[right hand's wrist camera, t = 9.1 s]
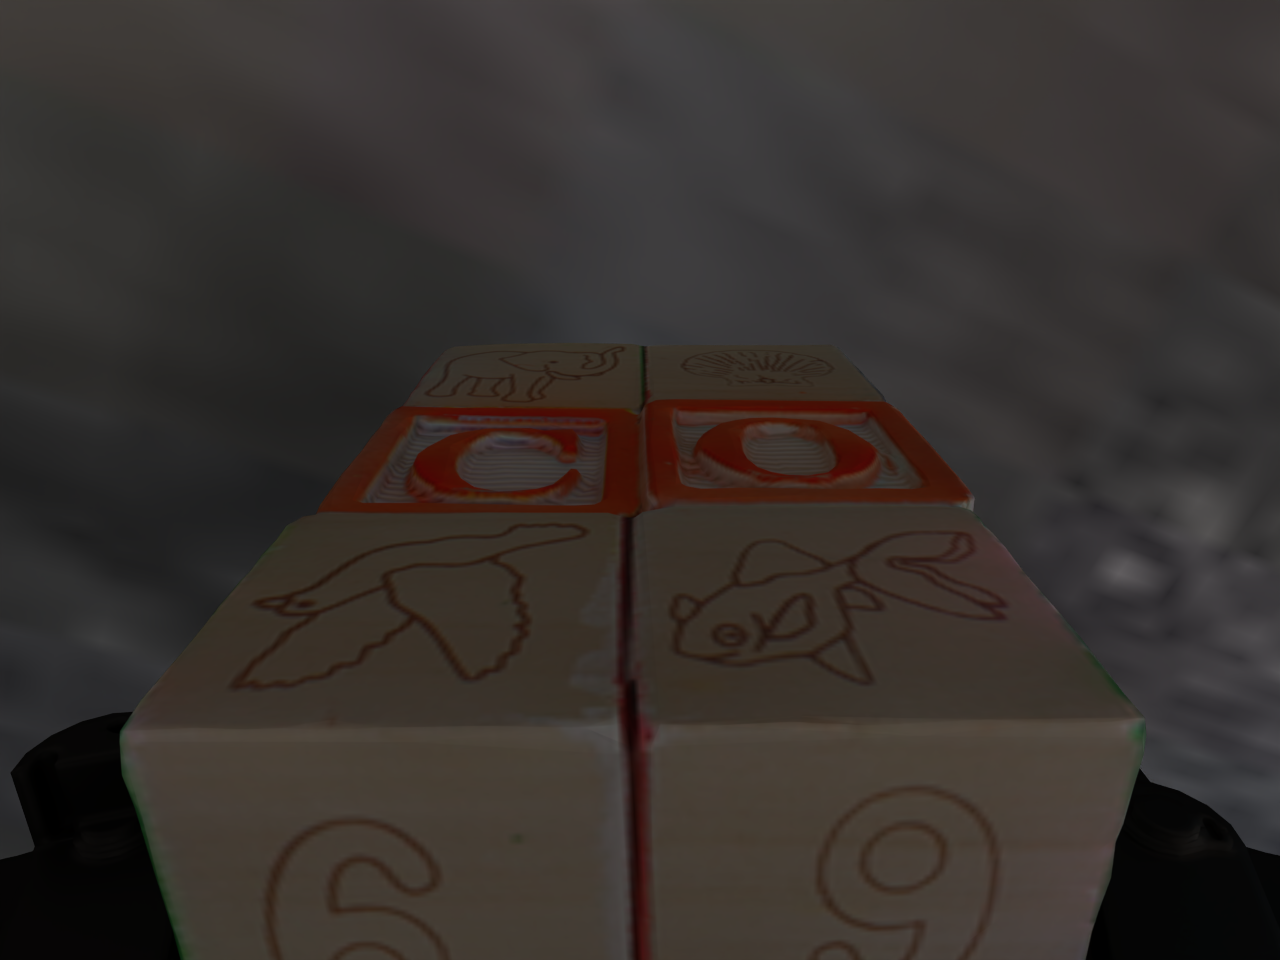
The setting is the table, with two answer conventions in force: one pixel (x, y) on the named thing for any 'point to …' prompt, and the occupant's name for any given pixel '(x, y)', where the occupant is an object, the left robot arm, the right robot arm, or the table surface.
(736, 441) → the stack of blocks
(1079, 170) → the table surface
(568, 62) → the table surface
